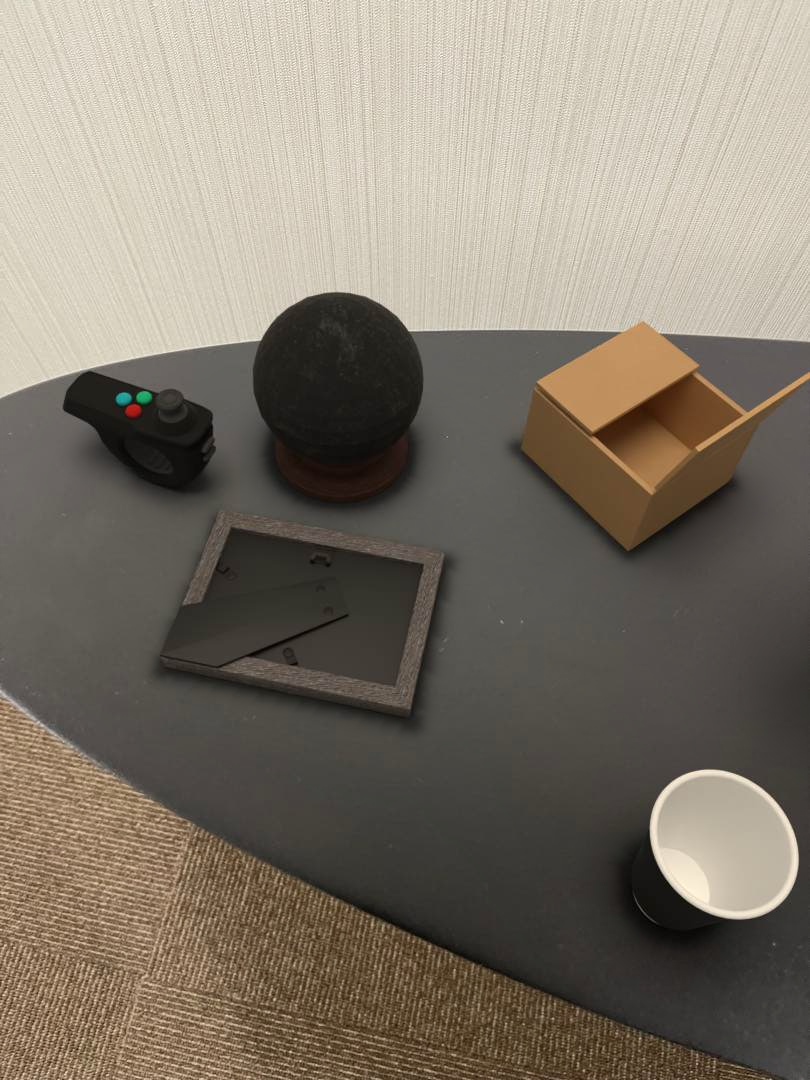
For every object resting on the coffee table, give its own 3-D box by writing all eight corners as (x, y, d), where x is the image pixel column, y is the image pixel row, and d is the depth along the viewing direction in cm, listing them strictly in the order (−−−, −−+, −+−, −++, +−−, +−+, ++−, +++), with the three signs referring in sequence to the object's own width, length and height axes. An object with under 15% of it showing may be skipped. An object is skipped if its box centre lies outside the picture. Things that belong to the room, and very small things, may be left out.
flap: (761, 415, 70) (764, 419, 70) (653, 487, 66) (656, 491, 65) (810, 371, 64) (814, 375, 64) (695, 447, 60) (699, 451, 60)
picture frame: (165, 667, 65) (409, 718, 64) (159, 654, 64) (410, 706, 62) (223, 520, 73) (443, 562, 71) (219, 505, 71) (445, 548, 70)
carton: (728, 481, 77) (764, 415, 70) (628, 551, 72) (654, 488, 65) (620, 389, 82) (642, 319, 75) (520, 449, 78) (534, 381, 71)
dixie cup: (734, 967, 55) (805, 931, 46) (604, 943, 56) (649, 903, 47) (729, 837, 60) (794, 781, 51) (609, 817, 60) (651, 757, 51)
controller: (208, 511, 73) (186, 430, 65) (77, 462, 76) (41, 377, 67) (234, 473, 75) (216, 389, 67) (107, 426, 78) (75, 340, 70)
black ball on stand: (386, 532, 73) (389, 404, 60) (237, 484, 75) (210, 351, 62) (439, 416, 80) (452, 280, 67) (301, 376, 82) (289, 237, 69)
